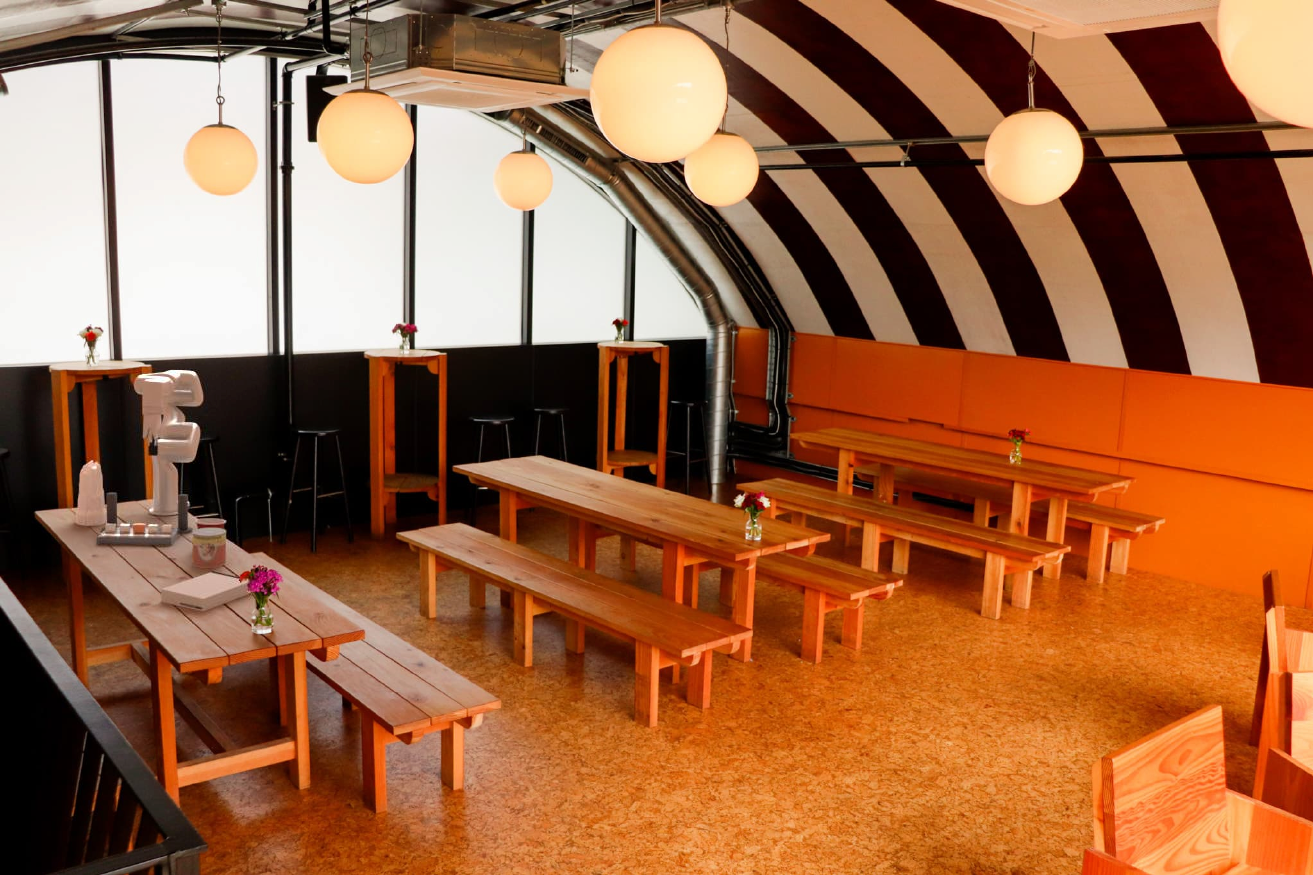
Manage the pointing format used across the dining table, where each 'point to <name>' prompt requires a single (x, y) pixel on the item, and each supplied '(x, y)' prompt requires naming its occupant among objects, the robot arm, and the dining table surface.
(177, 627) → the dining table surface
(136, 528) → the block
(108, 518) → the knob
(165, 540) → the breaker panel
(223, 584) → the disc drive
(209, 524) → the plastic cup
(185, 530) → the post
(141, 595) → the dining table surface
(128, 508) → the dining table surface
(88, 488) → the white ridged tapered column
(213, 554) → the canned food
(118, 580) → the dining table surface
